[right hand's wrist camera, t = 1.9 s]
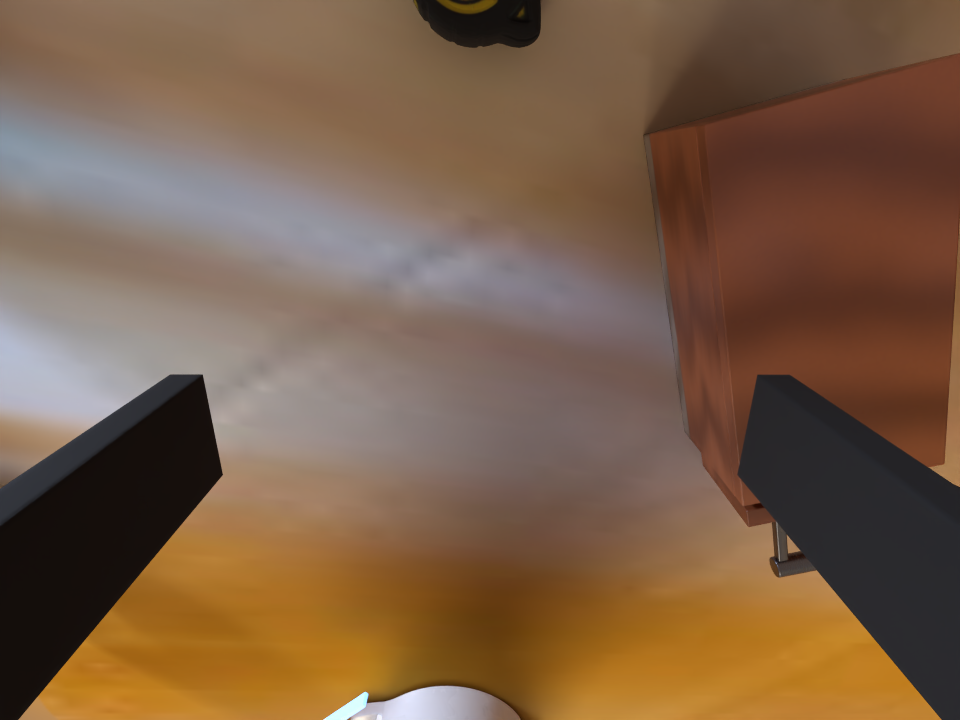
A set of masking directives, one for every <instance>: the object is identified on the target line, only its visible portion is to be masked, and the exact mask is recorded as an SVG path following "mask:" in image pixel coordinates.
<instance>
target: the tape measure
mask: <svg viewBox="0 0 960 720" xmlns="http://www.w3.org/2000/svg"><path fill="white" fill-rule="evenodd" d="M413 2H414V4H415V6H416V8H417V9H418V11H419V13H420V15H421V16H422V17H423V19H424V20H425V21H428V22H429V23H430V26H431V28H432V29H433V30H434V31H435V32H436V33H437V34H439V35H440V36H441V37H443V38H444V39H446V40H448V41H450V42H455V43H456V44H457V45H461V46H464V47H472V48H476V47H478V46H483V47H484V46H489V45H493V44H496V43H501V44H504V45H507V46H511V47H518V48H520V47H525V46H528V45H530V44H532V43H533V42H534V41H535V40H536V39H537V38H538V36H539V34H540V28H541V3H540V0H413Z"/></svg>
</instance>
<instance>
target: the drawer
mask: <svg viewBox="0 0 960 720" xmlns="http://www.w3.org/2000/svg"><path fill="white" fill-rule="evenodd" d="M701 454H702V453H701ZM702 462H703V466H704V468H705V469H706V470H707V472H708V473H709V474H710V476H711V477H712V478H713V480H714V481H715V483H716V484H717V485H718V487H719V488H720V489H721V491H722V492H723V493H724V495H725V496H726V497H727V499H728V500H729V501H730V503H731V504H732V505H733V507H734V508H735V510H736V511H737V512H738V514H739V515H740V516H741V518H742V519H743V520H744V522H745V523H746V524H747V526H748V527H751V526H756V525H761V524H766V523H770V522H772V528H773V541H774V554H775V556H774V557H770V565H771V568H772V570H773V572H774V574H775V575H776V576H777V577H779V578H780V577H785V576H790V575H795V574H800V573H805V572H810V571H815V570H816V569H815V567H814V566H813V565H812V564H811V563H810V561H809V560H808V559H807V558H806V557H805V555H804V554H803V553H802V552H801V551H799V552H794V553H789V554H788V549H787V534H786V533H785V531H784V530H783V529H782V528H781V527H780V525H779V524H778V523H777V522H776V521H775V519H774V518H773V517H772V516H771V515H770V514H769V512H768V511H767V510H766V509H765V508H764V506H763V505H762V504H761V503H756V504H752V505H747V506H742V505H741V503H740V502H739V501H738V499H737V498H736V497H735V496H734V495H733V493H732V492H731V491H730V489H729V488H728V487H727V486H726V484H725V483H724V482H723V480H722V479H721V478H720V476H719V475H718V474H717V473H716V471H715V470H714V469H713V467H712V466H711V465H710V463H709V462H708V461H707V459H706V458H705V457H704V456H703V454H702Z"/></svg>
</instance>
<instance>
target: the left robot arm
mask: <svg viewBox="0 0 960 720" xmlns="http://www.w3.org/2000/svg"><path fill="white" fill-rule="evenodd" d="M367 698H368V693H366V692H365V693H363V694H362V695H360V696H359V697H357V698H356V699H354V700H353V701H351V702H350V703H348V704H347V705H345V706H344V707H342V708H341V709H339V710H338V711H336V712H335V713H333V714H332V715H330V716H329V717H327V718H326V719H324V720H346V719H348V718H349V717H350V720H521V719H520V717H519V716H518V715H517V713H516V712H515V711H514V710H513V709H512V708H511V707H510V706H508V705H507V704H506V703H504V702H503V701H501V700H500V699H498V698H496V697H494V696H492V695H490V694H487V693H485V692H482V691H479V690H475V689H471V688H466V687H458V686H434V687H427V688H422V689H418V690H414V691H411V692H408V693H406V694H403V695H401V696H399V697H397V698H394V699H392V700H389V701H384V702H373V703H366V702H367Z"/></svg>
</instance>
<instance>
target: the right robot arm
mask: <svg viewBox="0 0 960 720" xmlns="http://www.w3.org/2000/svg"><path fill="white" fill-rule="evenodd" d="M222 475H223V473H222V468H221V463H220V458H219V454H218V449H217V444H216V439H215V434H214V429H213V424H212V419H211V414H210V409H209V404H208V399H207V394H206V389H205V384H204V379H203V375H169V376H168V377H166V378H165V379H163V380H162V381H160V382H159V383H157V384H156V385H154V386H153V387H151V388H150V389H148V390H147V391H145V392H144V393H142V394H141V395H139V396H138V397H136V398H135V399H133V400H132V401H130V402H129V403H127V404H126V405H124V406H123V407H121V408H120V409H118V410H117V411H115V412H114V413H112V414H111V415H109V416H108V417H106V418H105V419H103V420H102V421H100V422H99V423H97V424H96V425H94V426H93V427H91V428H90V429H88V430H87V431H85V432H84V433H82V434H81V435H80V436H78V437H77V438H75V439H74V440H72V441H71V442H69V443H68V444H66V445H65V446H63V447H62V448H60V449H59V450H57V451H56V452H54V453H53V454H51V455H50V456H48V457H47V458H45V459H44V460H42V461H41V462H39V463H38V464H36V465H35V466H33V467H32V468H30V469H29V470H27V471H26V472H24V473H23V474H21V475H20V476H18V477H17V478H15V479H14V480H12V481H11V482H9V483H8V484H6V485H5V486H3V487H2V488H0V720H18V719H19V718H20V717H21V716H22V715H23V713H24V712H25V711H26V710H27V709H28V707H29V706H30V705H31V704H32V703H33V701H34V700H35V699H36V698H37V697H38V695H39V694H40V693H41V692H42V691H43V689H44V688H45V687H46V686H47V685H48V683H49V682H50V681H51V680H52V679H53V677H54V676H55V675H56V674H57V673H58V671H59V670H60V669H61V668H62V667H63V666H64V664H65V663H66V662H67V661H68V660H69V658H70V657H71V656H72V655H73V654H74V652H75V651H76V650H77V649H78V648H79V646H80V645H81V644H82V643H83V642H84V640H85V639H86V638H87V637H88V636H89V634H90V633H91V632H92V631H93V630H94V628H95V627H96V626H97V625H98V624H99V622H100V621H101V620H102V619H103V618H104V616H105V615H106V614H107V613H108V612H109V610H110V609H111V608H112V607H113V606H114V604H115V603H116V602H117V601H118V600H119V598H120V597H121V596H122V595H123V594H124V592H125V591H126V590H127V589H128V588H129V587H130V585H131V584H132V583H133V582H134V581H135V579H136V578H137V577H138V576H139V575H140V573H141V572H142V571H143V570H144V569H145V567H146V566H147V565H148V564H149V563H150V561H151V560H152V559H153V558H154V557H155V555H156V554H157V553H158V552H159V551H160V549H161V548H162V547H163V546H164V545H165V543H166V542H167V541H168V540H169V539H170V537H171V536H172V535H173V534H174V533H175V531H176V530H177V529H178V528H179V527H180V525H181V524H182V523H183V522H184V521H185V519H186V518H187V517H188V516H189V515H190V514H191V512H192V511H193V510H194V509H195V508H196V506H197V505H198V504H199V503H200V502H201V500H202V499H203V498H204V497H205V496H206V494H207V493H208V492H209V491H210V490H211V488H212V487H213V486H214V485H215V484H216V482H217V481H218V480H219V479H220V478H221V476H222ZM737 475H738V476H739V478H740V479H741V480H742V481H743V482H744V484H745V485H746V486H747V487H748V488H749V490H750V491H751V492H752V493H753V494H754V496H755V497H756V498H757V499H758V500H759V502H760V503H761V504H762V505H763V506H764V508H765V509H766V510H767V511H768V512H769V514H770V515H771V516H772V517H773V518H774V519H775V521H776V522H777V523H778V524H779V525H780V527H781V528H782V529H783V530H784V531H785V533H786V534H787V535H788V536H789V537H790V539H791V540H792V541H793V542H794V543H795V545H796V546H797V547H798V548H799V549H800V551H801V552H802V553H803V554H804V555H805V557H806V558H807V559H808V560H809V561H810V563H811V564H812V565H813V566H814V567H815V569H816V570H817V571H818V572H819V573H820V575H821V576H822V577H823V578H824V579H825V581H826V582H827V583H828V584H829V585H830V587H831V588H832V589H833V590H834V591H835V592H836V594H837V595H838V596H839V597H840V598H841V600H842V601H843V602H844V603H845V604H846V606H847V607H848V608H849V609H850V610H851V612H852V613H853V614H854V615H855V616H856V618H857V619H858V620H859V621H860V622H861V624H862V625H863V626H864V627H865V628H866V630H867V631H868V632H869V633H870V634H871V636H872V637H873V638H874V639H875V640H876V642H877V643H878V644H879V645H880V646H881V648H882V649H883V650H884V651H885V652H886V654H887V655H888V656H889V657H890V658H891V660H892V661H893V662H894V663H895V664H896V666H897V667H898V668H899V669H900V670H901V671H902V673H903V674H904V675H905V676H906V677H907V679H908V680H909V681H910V682H911V683H912V685H913V686H914V687H915V688H916V689H917V691H918V692H919V693H920V694H921V695H922V697H923V698H924V699H925V700H926V701H927V703H928V704H929V705H930V706H931V707H932V709H933V710H934V711H935V712H936V713H937V715H938V716H939V717H940V718H941V719H942V720H960V487H958V486H956V485H954V484H952V483H951V482H949V481H948V480H946V479H945V478H943V477H942V476H940V475H939V474H937V473H936V472H934V471H933V470H931V469H930V468H928V467H927V466H925V465H924V464H922V463H921V462H919V461H918V460H916V459H915V458H913V457H912V456H910V455H909V454H907V453H906V452H904V451H903V450H901V449H900V448H898V447H897V446H895V445H894V444H892V443H891V442H889V441H888V440H886V439H885V438H883V437H882V436H880V435H879V434H878V433H876V432H875V431H873V430H872V429H870V428H869V427H867V426H866V425H864V424H863V423H861V422H860V421H858V420H857V419H855V418H854V417H852V416H851V415H849V414H848V413H846V412H845V411H843V410H842V409H840V408H839V407H837V406H836V405H834V404H833V403H831V402H830V401H828V400H827V399H825V398H824V397H822V396H821V395H819V394H818V393H816V392H815V391H813V390H812V389H810V388H809V387H807V386H806V385H804V384H803V383H801V382H800V381H798V380H797V379H795V378H794V377H792V376H791V375H757V379H756V384H755V389H754V394H753V399H752V404H751V409H750V414H749V419H748V424H747V429H746V434H745V439H744V444H743V449H742V454H741V458H740V463H739V468H738V473H737Z"/></svg>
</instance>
